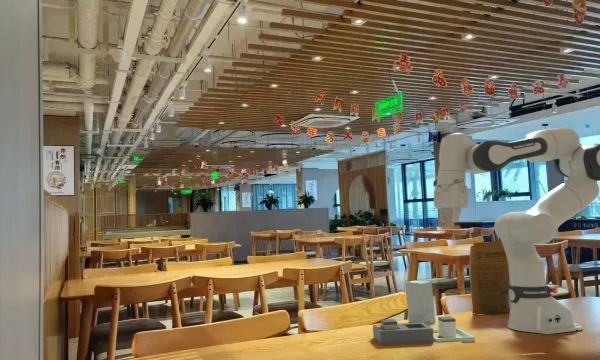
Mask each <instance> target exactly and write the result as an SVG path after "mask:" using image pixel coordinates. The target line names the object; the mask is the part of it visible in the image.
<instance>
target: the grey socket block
mask: <svg viewBox="0 0 600 360" xmlns="http://www.w3.org/2000/svg"><path fill="white" fill-rule="evenodd" d="M397 325H398V329H390V330H383V329H381V323H380V324H373V325H372V335H373V339H374V340H375V341H376V342H377V343H378V344H379V345H380V346H382V347H383V346H395V345H413V344H415V345H416V344H417V345H418V344H433V343H434V342H435V341H434V340H433V336H434V333H433V328H434V327H433V328H432V327H431V326H429V325H428V324H424V323H423V322H418V323H411V322H403V323H402V322H401V323H397Z"/></svg>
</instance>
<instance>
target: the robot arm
mask: <svg viewBox="0 0 600 360" xmlns="http://www.w3.org/2000/svg"><path fill="white" fill-rule="evenodd" d="M438 160H439V168H438V170H437V171H438V172H437V176H436V178H435V179H434V180H433V183H432V186H433V187H434V189H433V206H434V208H435V209H439V211H438V212H439V215H440V222H442V223H447V222H448V216H447V211H448V210H449V209H450V210H451V209H452V211H453V212H452V216H451V222H453V223H459V222H460V215H461V213H462V209H465V208H467V207H468V205H469V190H468V189H469V188H468V185H466V175H467V174H466V173H468V174H472V175H479V174H483V173H485V174H486V173H491V172H498V171H500V170H502V169H504V168H505V167H506V166H508V164H509V165H510V163H512V162H516V161H521V160H527V161H528V162H529V163H543V162H549V161H550V162H551V161H553V167H554V169H555V171H556V172H557V173H558V174H559V175H560V176H561V177H565V178H567V179H566V180H565V181H564V182H562V183H561V184H559V185H557V186H555V187H554V188H553V189H550V191H548V192H546V193H545V194H543V195H541V196H540V197H539V198H538V199H537V202H536V204H534V205H533V206H532V207H531V208H529V209H526V210H522V211H509V212H506V213H503V214H502V215H500V216H498V217H497V218H496V220H495V222H494V226H493V227H494V232H495V234H496V236H497V237H498V238H499V239H500V241H501V242H502V244H503V247H504V250H505V253H506V257H507V261H508V269H509V305H510V313H508V314H509V315H508V316H509V317H508V321H507V325H506V327H508V328H509V329H511V330H515V331H519V332H525V333H526V332H527V333H535V334H540V335H552V334H559V333H567V332H568V333H569V332H577V331H576V330H578V331H582V330H583V327H582V325H580V324H579V323H577V322H574V317H573V314H572V311H571V309H569V308H568V307H567V306H565V305H564V304H563V303H561V302H560V301H559V300H557V299H556V298H554V297H553V296H552V294H555V295H556V294H558V292H559V289H558V288H557V287H556V286H549V285H547V284H546V283H547V282H546V271H545V270H546V269H545V262H544V260H543V259H542V257H541V256H540V254H539V253H538V251H537V249H536V246H535V245H543V244H546V243H549V242H551V241H552V240H553V239H554V238H555V236H556V234H557V229H558V228H560V226H561V225H562V224H564V223H565V222H567V221H568V220H569V219H571V218H573V217H574V216H575V215H577V214H578V213H580V212H581V211H583V210H584V209H586V208H587V207H588V206H590V205H591V204H592V203H593V202H594V201H595V200H596V199H597V198H598V196H599V195H600V187H599V184H598V182H599V181H600V143H593V144H584V145H582V143H581V141H580V137H579V135H578V132H576V131H575V130H574V129H573V128H570V127H551V128H544V129H540V130H536V131H533V132H530V133H527V134H526V135H524V136H523V138H522V139H520V140H514V141H508V142H504V141H500V140H497V139H489V140H485V141H483V142H481V143H479V144H478V143H476V142H474V141H473V140H471V139H470V138H469V137H468V136H467V135H466V134H465V133H463V132H454V133H450V134H449V133H448V134H447V135H445V136H443V137H442V139H441V140H440V146H439V155H438ZM581 329H582V330H581Z"/></svg>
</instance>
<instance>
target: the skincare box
mask: <svg viewBox="0 0 600 360" xmlns="http://www.w3.org/2000/svg"><path fill="white" fill-rule="evenodd" d="M404 285H405V294H406V305H407V306H406V307H407V317H408V318H407V319H408V323H418V322H423V323H424V324H426V325H428V324H436V323H437V321H436V313H435V312H436V311H435V302H434V294H433V283H432V281H429V280H428V281H426V280H425V281H424V280H410V281H406V282H405V284H404Z"/></svg>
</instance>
